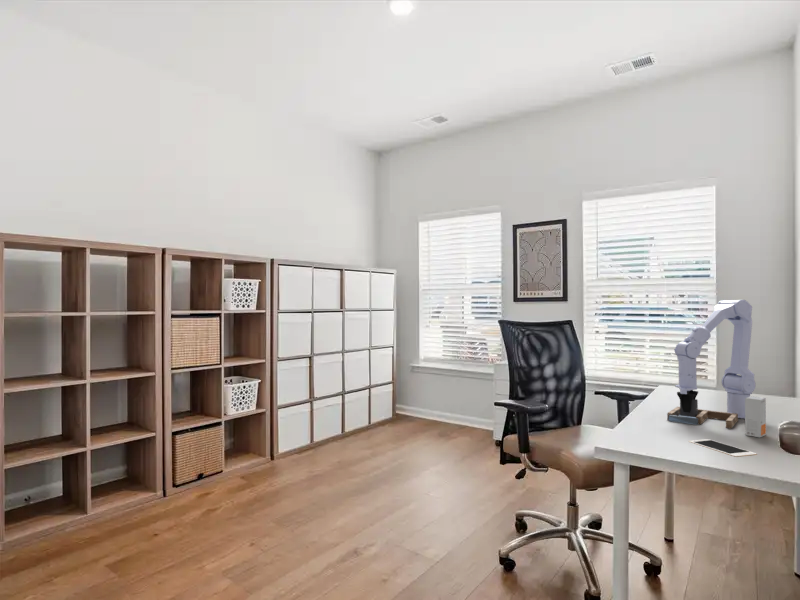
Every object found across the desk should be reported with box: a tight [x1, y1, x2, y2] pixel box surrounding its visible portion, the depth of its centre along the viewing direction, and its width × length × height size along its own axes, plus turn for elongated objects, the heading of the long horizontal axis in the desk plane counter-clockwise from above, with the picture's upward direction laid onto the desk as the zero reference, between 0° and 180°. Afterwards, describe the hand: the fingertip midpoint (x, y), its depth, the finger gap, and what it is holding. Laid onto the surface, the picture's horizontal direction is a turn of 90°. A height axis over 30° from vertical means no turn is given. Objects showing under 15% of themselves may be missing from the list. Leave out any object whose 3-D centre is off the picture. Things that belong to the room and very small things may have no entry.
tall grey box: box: [679, 398, 699, 417], centre depth 180 cm, size 4×5×6 cm
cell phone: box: [688, 438, 758, 458], centre depth 143 cm, size 8×16×1 cm, turn 14°
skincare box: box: [744, 395, 767, 438], centre depth 157 cm, size 6×4×12 cm
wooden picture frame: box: [666, 406, 739, 429], centre depth 177 cm, size 17×20×2 cm
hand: (687, 411), depth 180 cm, fingers closed on tall grey box, 3 cm apart
